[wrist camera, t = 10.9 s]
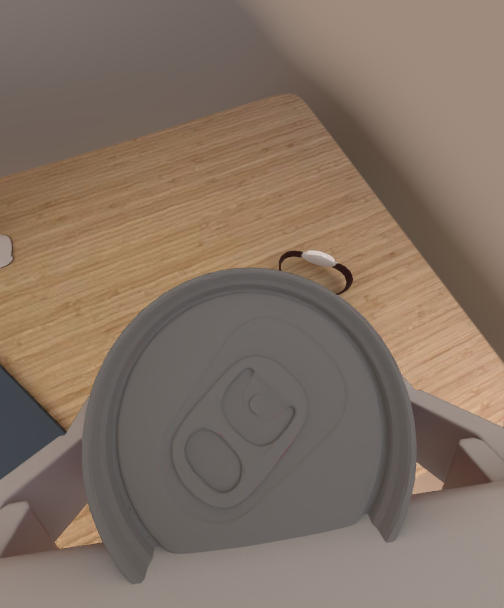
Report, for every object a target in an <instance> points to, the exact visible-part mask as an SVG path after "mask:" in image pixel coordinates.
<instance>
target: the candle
mask: <svg viewBox="0 0 504 608" xmlns="http://www.w3.org/2000/svg"><path fill="white" fill-rule="evenodd" d="M11 252H12V244H11V240H10V238H9V237H8V236H6V235H0V268H1V267H3V266H6V265H8V264H9V263H10V262H11V261H12V259H13V257H12V256H11Z"/></svg>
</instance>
